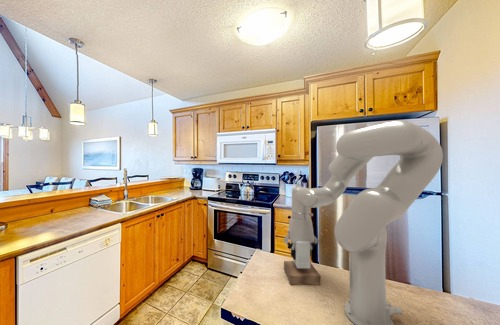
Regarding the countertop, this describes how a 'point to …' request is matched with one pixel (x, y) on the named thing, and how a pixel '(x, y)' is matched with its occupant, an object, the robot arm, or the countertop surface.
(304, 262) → the small box
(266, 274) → the countertop surface
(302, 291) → the countertop surface
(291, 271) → the walnut block
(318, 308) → the countertop surface
